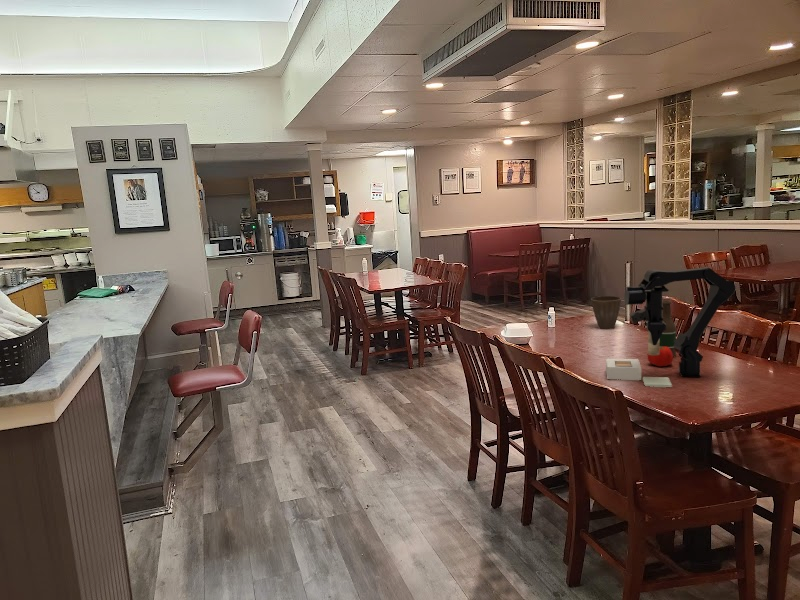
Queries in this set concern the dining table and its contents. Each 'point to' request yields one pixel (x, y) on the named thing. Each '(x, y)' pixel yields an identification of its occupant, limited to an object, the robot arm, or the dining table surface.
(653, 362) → the tomato
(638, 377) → the box
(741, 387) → the dining table surface
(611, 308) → the plant pot
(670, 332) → the beer bottle
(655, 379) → the rest pad
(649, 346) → the tan cylinder
